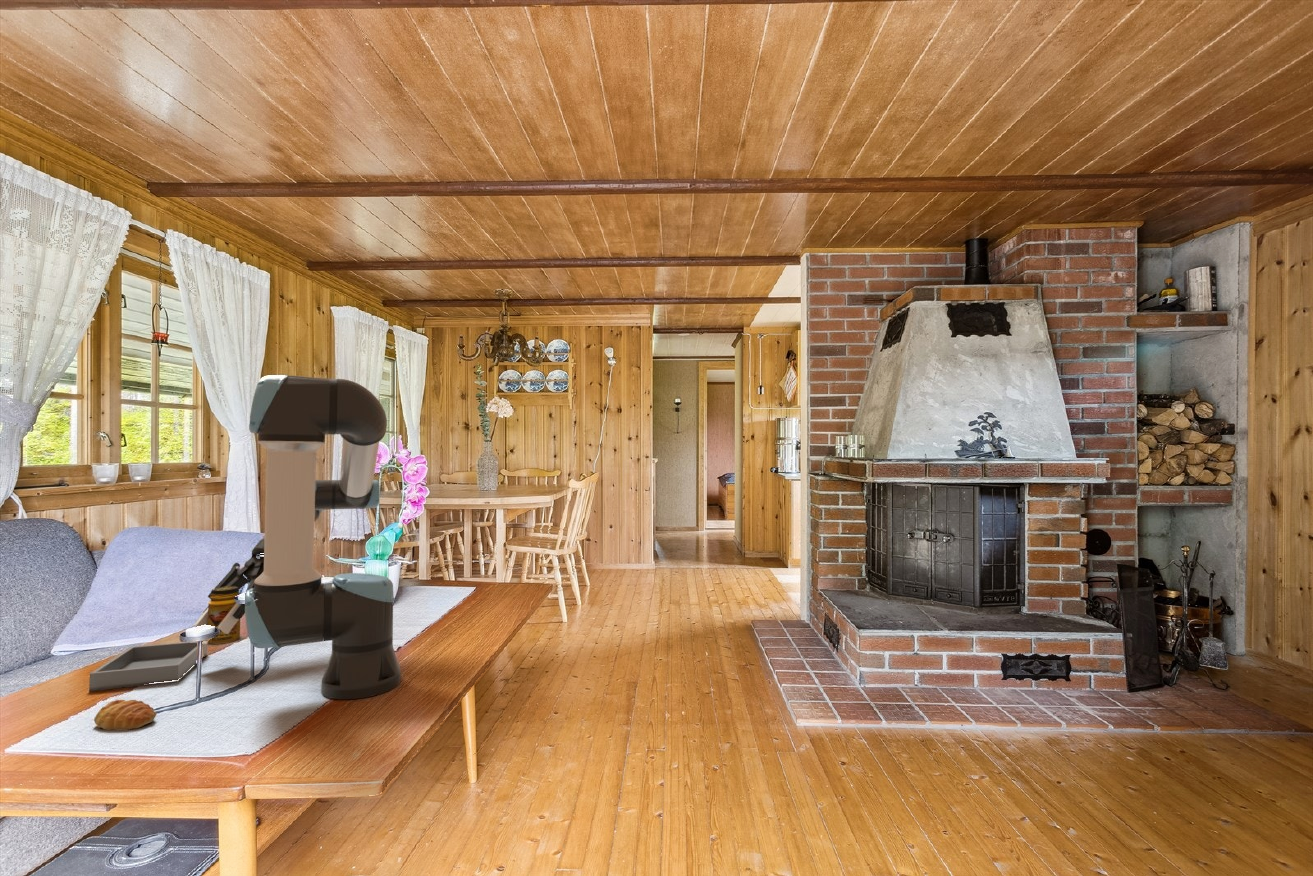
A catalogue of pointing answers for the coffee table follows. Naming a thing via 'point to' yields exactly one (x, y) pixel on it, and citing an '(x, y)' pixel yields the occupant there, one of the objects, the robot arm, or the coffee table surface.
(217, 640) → the condiment
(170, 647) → the tray
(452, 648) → the coffee table surface
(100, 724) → the pastry
